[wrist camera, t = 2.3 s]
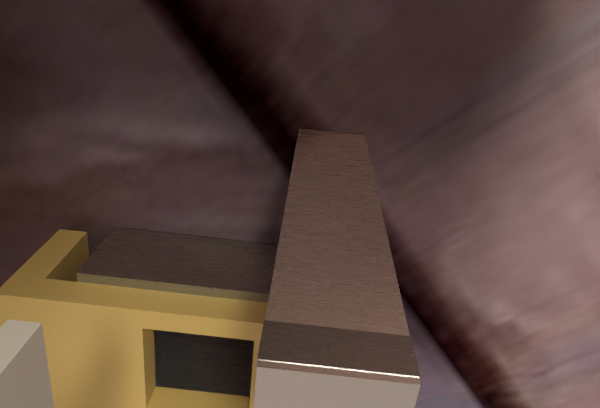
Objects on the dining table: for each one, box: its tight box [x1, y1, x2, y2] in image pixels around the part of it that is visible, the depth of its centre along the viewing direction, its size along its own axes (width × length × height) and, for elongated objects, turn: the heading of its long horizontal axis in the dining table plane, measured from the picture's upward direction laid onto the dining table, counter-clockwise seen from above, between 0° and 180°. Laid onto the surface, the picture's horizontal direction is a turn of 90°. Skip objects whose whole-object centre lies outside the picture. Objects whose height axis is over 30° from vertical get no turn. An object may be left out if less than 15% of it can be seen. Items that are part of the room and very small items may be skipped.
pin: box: [253, 128, 421, 408], centre depth 18 cm, size 3×3×16 cm
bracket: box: [0, 229, 268, 408], centre depth 26 cm, size 7×13×6 cm, turn 84°
